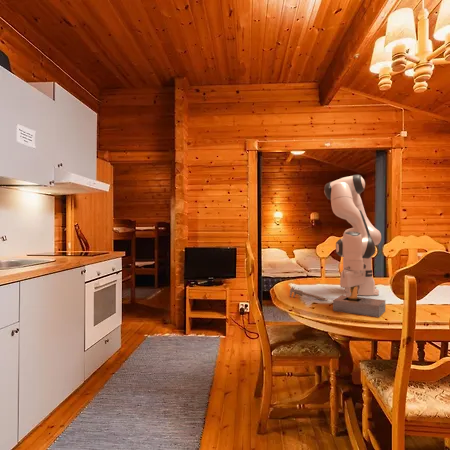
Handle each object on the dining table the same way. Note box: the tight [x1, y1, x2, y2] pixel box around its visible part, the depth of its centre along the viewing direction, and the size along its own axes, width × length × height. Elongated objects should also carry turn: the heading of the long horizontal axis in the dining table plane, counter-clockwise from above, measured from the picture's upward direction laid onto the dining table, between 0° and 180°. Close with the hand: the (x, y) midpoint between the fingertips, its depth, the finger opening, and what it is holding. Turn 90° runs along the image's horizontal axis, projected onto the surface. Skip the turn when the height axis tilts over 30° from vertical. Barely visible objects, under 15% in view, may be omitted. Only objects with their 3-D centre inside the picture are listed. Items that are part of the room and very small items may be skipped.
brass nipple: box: [348, 286, 358, 301], centre depth 163 cm, size 4×4×10 cm
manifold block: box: [332, 294, 386, 318], centre depth 160 cm, size 14×20×5 cm
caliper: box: [289, 286, 328, 301], centre depth 188 cm, size 20×1×6 cm, turn 64°
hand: (352, 295), depth 162 cm, fingers open, 8 cm apart
